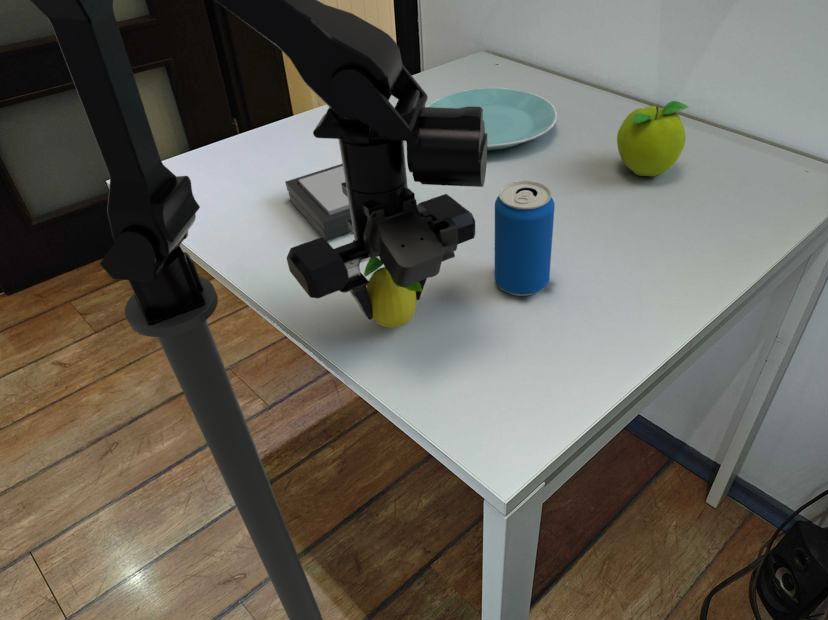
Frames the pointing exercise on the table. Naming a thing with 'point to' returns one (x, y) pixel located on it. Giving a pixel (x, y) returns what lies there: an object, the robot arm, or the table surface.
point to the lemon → (389, 296)
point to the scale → (318, 210)
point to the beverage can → (523, 237)
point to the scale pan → (327, 190)
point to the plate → (505, 114)
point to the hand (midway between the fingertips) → (392, 307)
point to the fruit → (652, 139)
